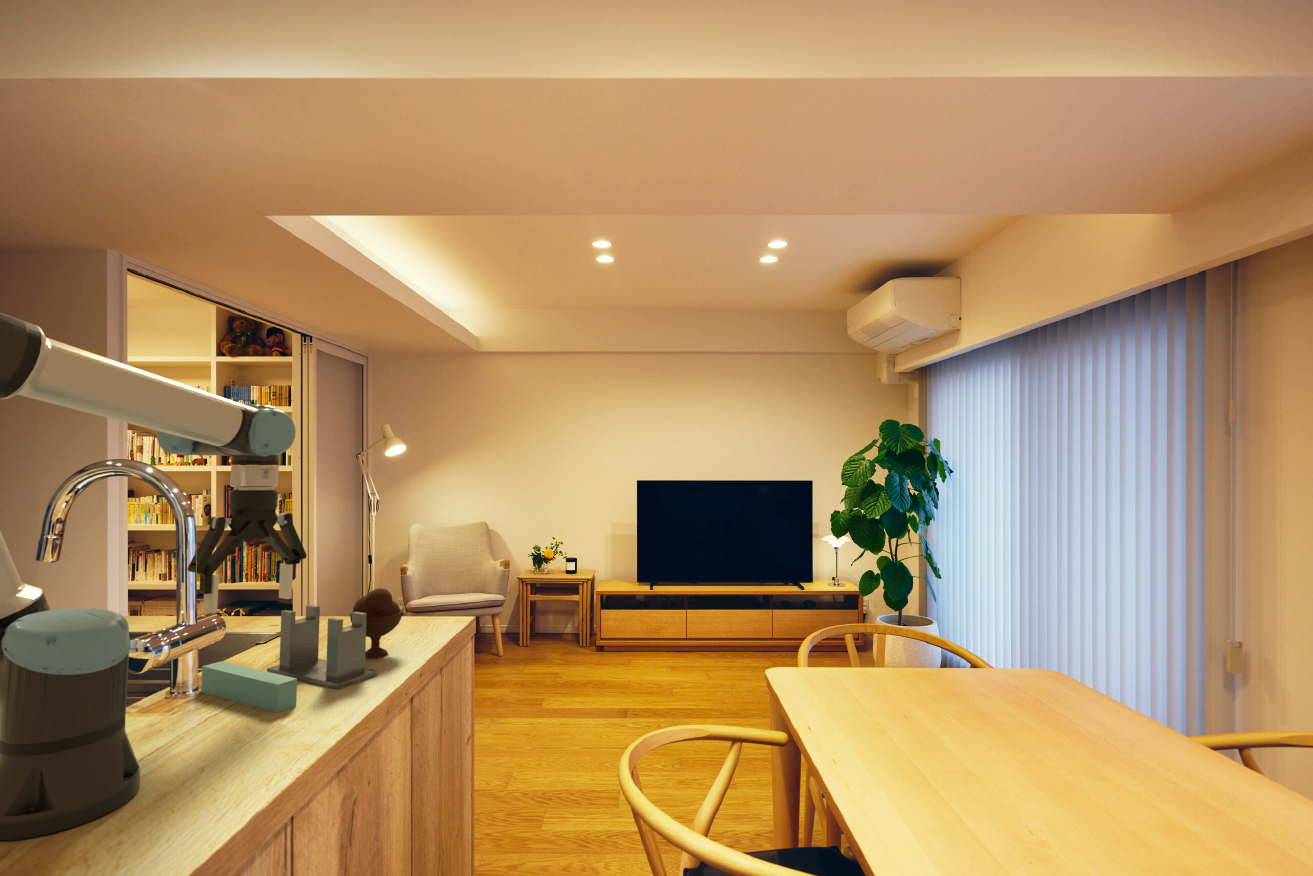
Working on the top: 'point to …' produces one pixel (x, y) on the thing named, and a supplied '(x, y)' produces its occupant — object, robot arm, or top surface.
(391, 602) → the ice cream bowl
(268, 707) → the rail
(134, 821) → the top surface
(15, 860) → the top surface
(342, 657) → the hook standards
